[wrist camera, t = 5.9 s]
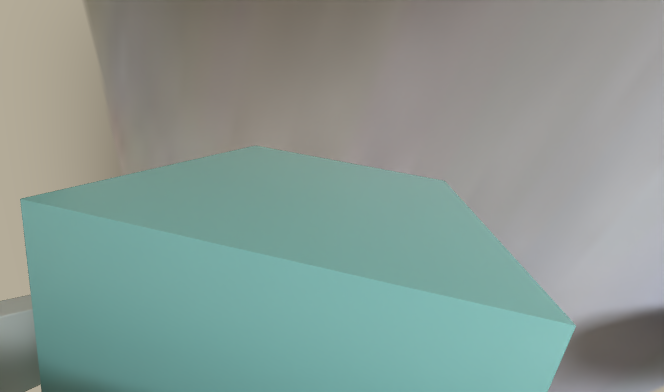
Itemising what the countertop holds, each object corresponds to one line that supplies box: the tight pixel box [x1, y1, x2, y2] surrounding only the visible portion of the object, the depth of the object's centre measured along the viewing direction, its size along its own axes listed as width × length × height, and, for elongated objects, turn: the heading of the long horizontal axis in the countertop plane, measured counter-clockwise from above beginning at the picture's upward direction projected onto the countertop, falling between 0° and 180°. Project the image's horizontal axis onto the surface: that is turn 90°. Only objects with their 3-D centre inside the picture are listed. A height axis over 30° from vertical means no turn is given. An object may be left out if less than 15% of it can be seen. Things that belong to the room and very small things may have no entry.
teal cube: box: [20, 146, 576, 392], centre depth 9 cm, size 8×8×9 cm
